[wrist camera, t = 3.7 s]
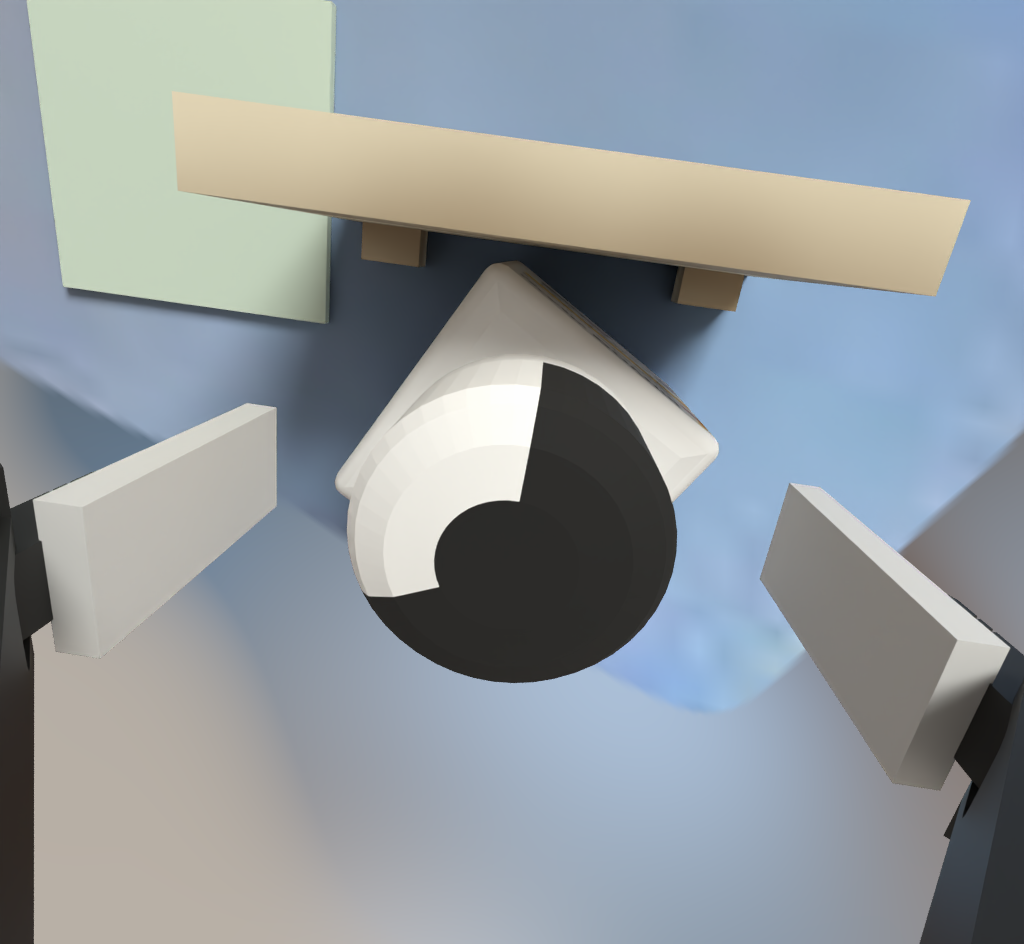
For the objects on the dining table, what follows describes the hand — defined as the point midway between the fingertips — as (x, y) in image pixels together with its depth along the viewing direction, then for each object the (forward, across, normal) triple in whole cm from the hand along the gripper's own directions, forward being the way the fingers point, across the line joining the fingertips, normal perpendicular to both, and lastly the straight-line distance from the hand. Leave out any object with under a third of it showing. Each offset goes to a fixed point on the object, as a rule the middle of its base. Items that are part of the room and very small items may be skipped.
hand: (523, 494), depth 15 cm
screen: (+8, 0, +7) cm, 11 cm away
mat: (+8, -13, +7) cm, 17 cm away
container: (+9, 0, 0) cm, 9 cm away
